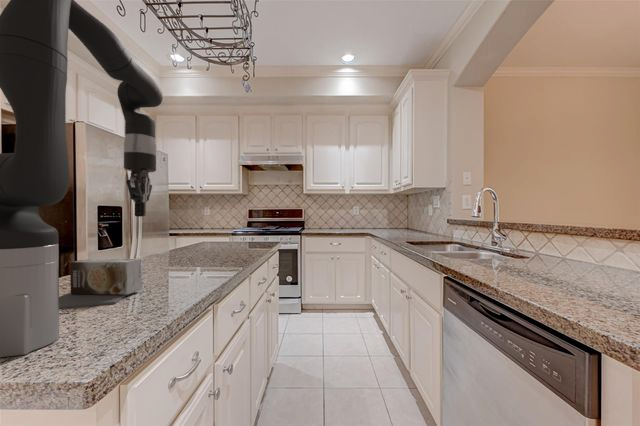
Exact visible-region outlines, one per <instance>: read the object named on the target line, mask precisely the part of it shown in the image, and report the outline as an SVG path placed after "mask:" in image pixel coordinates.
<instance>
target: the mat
mask: <svg viewBox="0 0 640 426" xmlns="http://www.w3.org/2000/svg"><path fill="white" fill-rule="evenodd" d="M127 296H128V295H123V294H71V292H70V293H69V292H68V293H65V294H63V295H61V296H60V295H59V309H66V308H67V309H68V308H80V307H93V306H95V307H96V306H104V305H106V306H107V305H116V304H117V303H118V302H120V301H121V300H123V299H124V298H126V297H127Z"/></svg>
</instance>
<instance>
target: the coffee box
mask: <svg viewBox="0 0 640 426" xmlns="http://www.w3.org/2000/svg"><path fill="white" fill-rule="evenodd" d="M69 269H70V271H69V273H70V275H69V276H70V277H69V278H70V293H71V294H123V295H127V296H128V295H131V294H133V293H137V292H139V291H141V290H142V289H143V286H142V283H143V282H142V279H143V278H142V258H89V259H80V260H74V261H70V262H69Z"/></svg>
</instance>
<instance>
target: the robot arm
mask: <svg viewBox="0 0 640 426" xmlns="http://www.w3.org/2000/svg"><path fill="white" fill-rule="evenodd" d="M69 30H70V32H71V33H72V34H73V35H74V36H76V38H77V39H78V41H80V43H82V45H84V47H85V48H86V49H87V50H88V51H89V53H90V55H92V57H93V58H94V60H96V62H97V63H98V64H99V66H101V68H102V69H103V70H104V72H105V73H106V74H107V75H108V76H109V77H111V78H112V79H114V80H116V81H120V83H119V84H118V86H117V94H116V95H117V98H118V102H119V104H120V105H119V106H120V108H121V111H122V115H123V118H124V140H123V169H124V170H125V171H129V172H130V177H129V179H126V185H127V188H128V189H127V190H128V192H129V197H130V200H132V201H133V203H134V216H135V217H137V218H138V217H146V216H147V215H146V209H147V207H146V204H147V202H148V201H149V200H150V197H151V196H150V195H151V194H152V189H153V185H152V184H151V178H150V176H149V173H154V172H156V171H157V144H156V122H155V119H154V118H153V117H152V116H149V115H148V114H143V113H141V108H144V109H145V108H156V107H158V106H160V105H161V104H162V102H163V99H164V98H163V93H162V90H161V88H160V86H159V84H158V83H157V82H156V81H155V79H154V78H153V77H152V76H151V75H149V74H148V73H147V72H146V71H145V70H144V69H143V68H142V67H141V66H140V65H139V64H138V63H136V62H135V61H134V59H133V58H132V57H131V55H130V53H129V51H127V49H126V47H125V46H124V45H123V43H122V42H121V40H120V39H119V38H118V37H117V35H116V34H115V33H114V32H113V31H112V30H111V29H110V28H109V27H108V26H107V25H106V24H104V23H103V22H102V21H100V20H99V19H98V18H96V16H94V15H92V14H91V13H90V12H88V11H87V10H86V9H85V8H84V7H82V6H81V5H80V4H79V3H78V2H77V1H75V0H9V1H8V2H7V4H6V6H4V9H3V10H1V13H0V91H1V92H2V93H3V95H4V97H5V99H6V100H7V102H8V104H9V105H10V107H11V110H12V112H13V115H14V119H15V143H14V149H13V150H14V151H13V152H8V153H7V152H6V153H5V152H4V153H3V152H2V153H0V358H4V357H5V358H6V357H15V356H22V355H27V354H29V353H31V352H32V351H35V350H38V349H40V348H44V347H45V346H49V345H50V344H52V343H54V342H56V341H57V340H59V338H60V308H59V297H60V291H59V290H60V288H59V287H60V283H59V282H60V278H59V277H60V276H59V275H60V272H59V271H60V270H59V268H60V266H59V264H60V263H59V259H60V256H59V255H60V253H59V252H60V251H59V247H60V246H59V243H60V241H59V231H58V230H57V228H56V227H54V226H52V225H50V224H48V223H46V222H45V221H44V220H43V219H42V218H41V216H40V213H39V207H48V206H53V205H55V204H58V203H59V202H61V201H62V200H63V199H64V198H65V196H66V195H67V193H68V190H69V188H70V187H69V186H70V182H71V181H70V180H71V179H70V178H71V176H70V163H69V155H68V153H69V151H68V143H67V142H68V141H67V140H68V139H67V130H66V128H67V127H66V125H67V124H66V122H67V121H66V115H67V113H66V112H67V111H66V110H67V108H66V107H67V106H66V101H67V99H66V98H67V97H66V95H67V93H66V92H67V82H68V61H69V60H68V42H69Z"/></svg>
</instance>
